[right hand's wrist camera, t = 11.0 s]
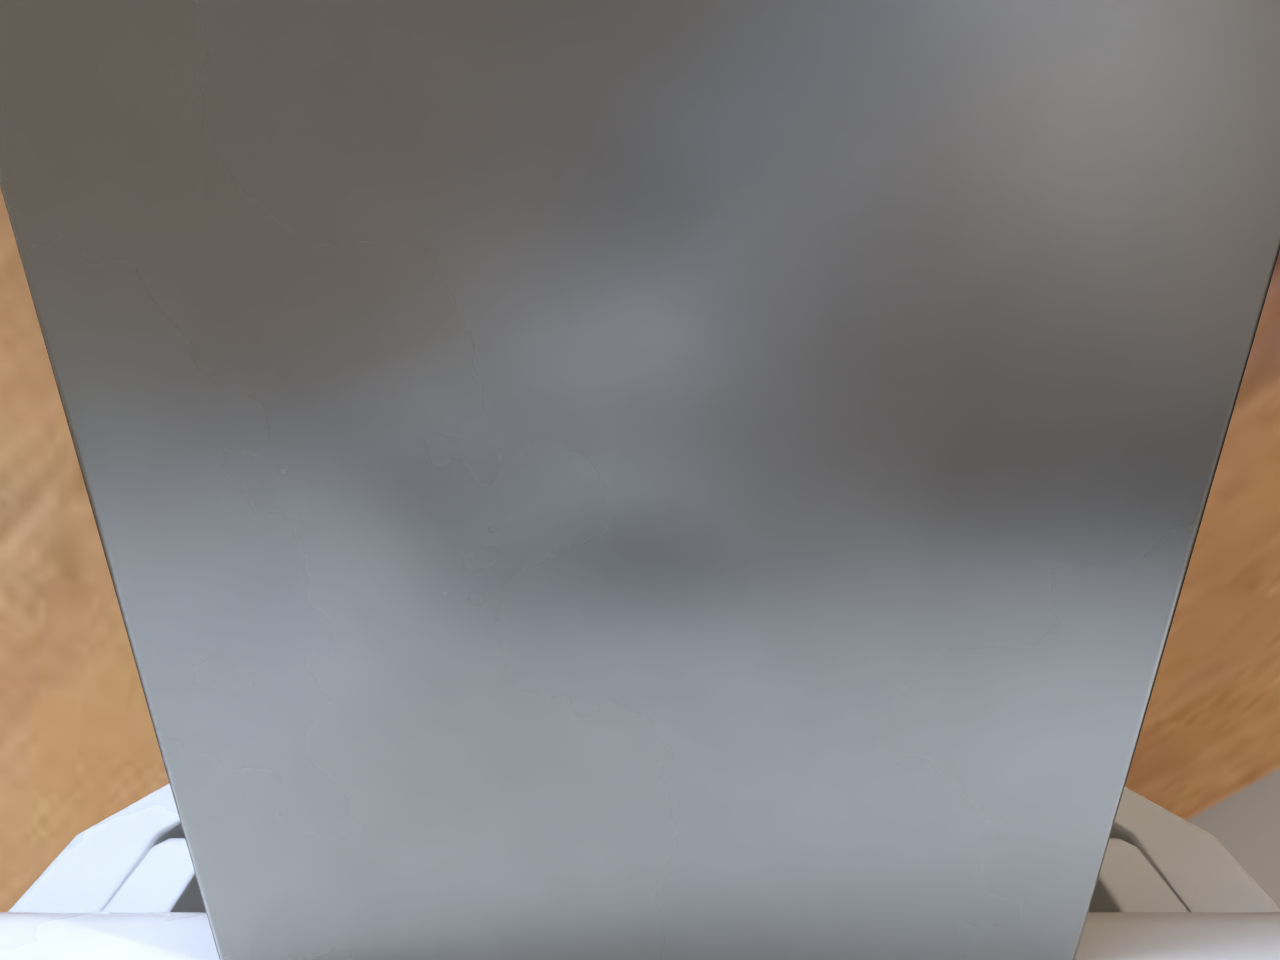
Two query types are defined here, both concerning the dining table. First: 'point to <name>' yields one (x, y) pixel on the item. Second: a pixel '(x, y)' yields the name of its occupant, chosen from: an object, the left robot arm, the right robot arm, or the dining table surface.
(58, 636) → the dining table surface
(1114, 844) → the right robot arm
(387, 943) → the box
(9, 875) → the dining table surface
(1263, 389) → the dining table surface
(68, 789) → the dining table surface
